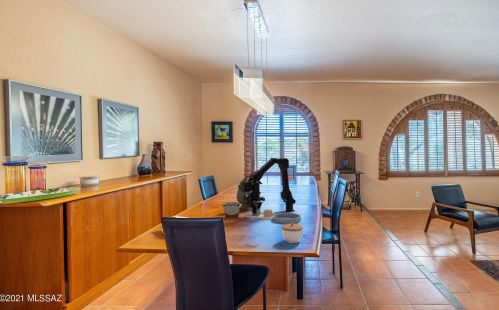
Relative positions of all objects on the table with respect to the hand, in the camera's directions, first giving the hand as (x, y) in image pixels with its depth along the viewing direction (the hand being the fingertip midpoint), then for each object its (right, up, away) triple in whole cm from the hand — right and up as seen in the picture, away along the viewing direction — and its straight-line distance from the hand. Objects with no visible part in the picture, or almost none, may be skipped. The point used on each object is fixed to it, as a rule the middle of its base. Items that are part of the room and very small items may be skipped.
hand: (256, 213), depth 212 cm
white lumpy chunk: (-41, -4, -37) cm, 55 cm away
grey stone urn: (-7, -2, +21) cm, 22 cm away
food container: (-17, -3, -1) cm, 17 cm away
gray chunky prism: (0, -2, 0) cm, 2 cm away
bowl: (+20, -2, -14) cm, 24 cm away
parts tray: (+4, -2, -2) cm, 5 cm away
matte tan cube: (+8, -2, -4) cm, 9 cm away
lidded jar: (+17, -4, -57) cm, 59 cm away
